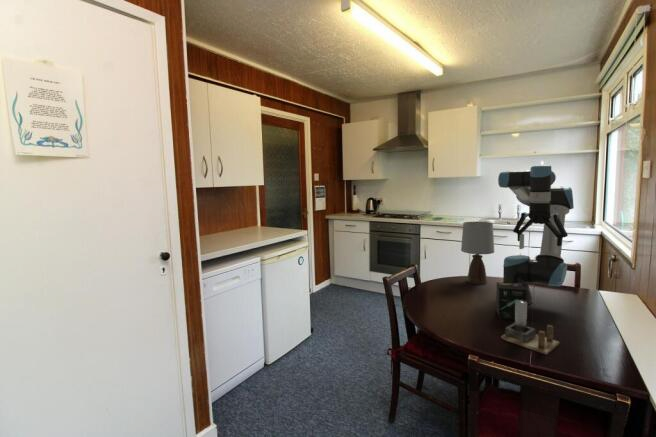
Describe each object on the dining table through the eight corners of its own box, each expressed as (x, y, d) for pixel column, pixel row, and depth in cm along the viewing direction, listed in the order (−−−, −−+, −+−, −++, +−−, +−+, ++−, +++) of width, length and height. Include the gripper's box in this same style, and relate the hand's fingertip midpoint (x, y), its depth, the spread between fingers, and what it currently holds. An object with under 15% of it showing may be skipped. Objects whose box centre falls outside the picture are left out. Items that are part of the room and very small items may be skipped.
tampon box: (521, 313, 154) (522, 283, 152) (526, 321, 145) (527, 289, 144) (495, 311, 157) (496, 281, 156) (498, 318, 149) (499, 287, 147)
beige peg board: (501, 338, 130) (501, 321, 129) (515, 329, 137) (515, 313, 136) (546, 354, 117) (547, 336, 117) (559, 344, 124) (560, 326, 124)
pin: (512, 335, 130) (513, 301, 129) (517, 332, 133) (518, 299, 131) (523, 339, 127) (524, 304, 126) (527, 336, 130) (529, 302, 128)
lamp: (500, 284, 197) (502, 223, 193) (475, 288, 191) (476, 226, 187) (478, 276, 214) (478, 220, 210) (454, 279, 209) (454, 222, 205)
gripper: (505, 201, 146) (504, 248, 149) (571, 203, 126) (569, 257, 129) (513, 200, 150) (512, 245, 153) (578, 202, 130) (576, 253, 133)
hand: (538, 250), depth 141 cm, fingers open, 13 cm apart
